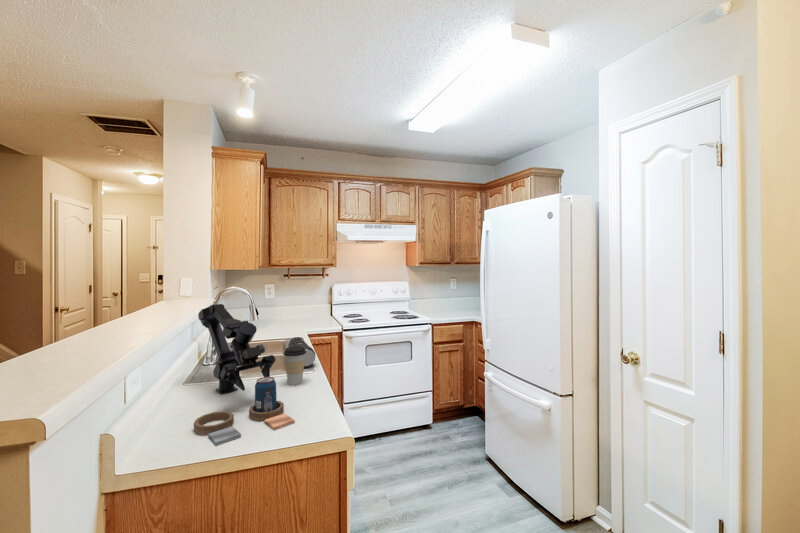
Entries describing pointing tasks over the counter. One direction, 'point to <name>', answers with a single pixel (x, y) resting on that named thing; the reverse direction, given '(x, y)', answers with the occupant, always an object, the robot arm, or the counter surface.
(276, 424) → the terracotta tag ring
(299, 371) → the coffee cup
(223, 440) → the grey tag ring
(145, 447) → the counter surface
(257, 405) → the soda can
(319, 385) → the counter surface
